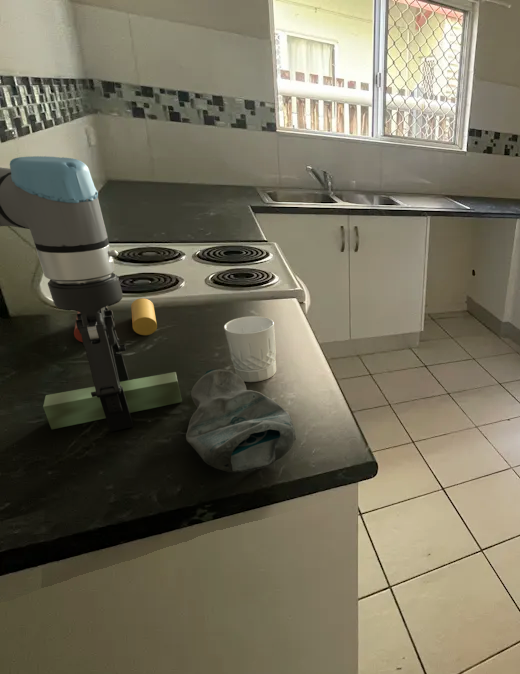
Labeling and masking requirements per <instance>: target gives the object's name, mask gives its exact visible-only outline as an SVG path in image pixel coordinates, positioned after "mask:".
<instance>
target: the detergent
mask: <svg viewBox="0 0 520 674" xmlns="http://www.w3.org/2000/svg"><path fill="white" fill-rule="evenodd" d="M190 397H191V399H192V401H193V403H194V405H195V407H196V410H195V411H194V413H193V414H192V416H191V417H190V420H189V422H188V426H187V431H186V434H185V440H186V442H187V443H188V444H189V445H190V446H191V447H192V448H193V449H194V450H195V451H196V453H197V454H198V455H199V457H200V458H201V459H202V460H203V462H204V463H206V464H207V465H209V466H210V467H212V468H214V469H217V470H219V471H223V472H226V473H246V472H250V471H254V470H257V469H260V468H263V467H266V466H267V467H268V466H269V465H271V464H273V463H275V462H277V461H278V460H280V459H282V458H283V457H284V456H286V454H287V453H288V452H289V451H290V450H291V449H292V448H293V446H294V444H295V441H296V440H297V437H296V432H295V426H294V422H293V420H292V417H291V415H290V414H289V412H287V410H286V409H284V408H283V406H282V405H280V404H279V403H278V402H277V401H275V400H274V399H272V398H271V397H268V396H267V395H266V394H263V393H262V392H259V391H256V390H251V389H247V386H246V383H245V381H243V380H242V379H241V378H240V377H239V376H238V375H236V374H235V372H232V371H230V370H227V369H226V370H225V369H215V368H214V369H209V370H206V372H204V375H202V376H201V377H200V378H199V379H197V381H196V382H195V383H194V385H193V387H192V389H191V392H190Z"/></svg>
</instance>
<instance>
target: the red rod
mask: <svg viewBox="0 0 520 674" xmlns="http://www.w3.org/2000/svg"><path fill="white" fill-rule="evenodd" d="M76 312H77V313H76V315H77V314H78V313H80V312H78V311H76ZM75 317H76V319H75V321H76V320H78V318H77V316H75ZM73 336H74V338H75V339H76V340H77V341H78V342H81V343H83V341H82V336H81V333H80V332H79V330H78V328H77V324H76V322H75V323H74V330H73Z"/></svg>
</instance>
